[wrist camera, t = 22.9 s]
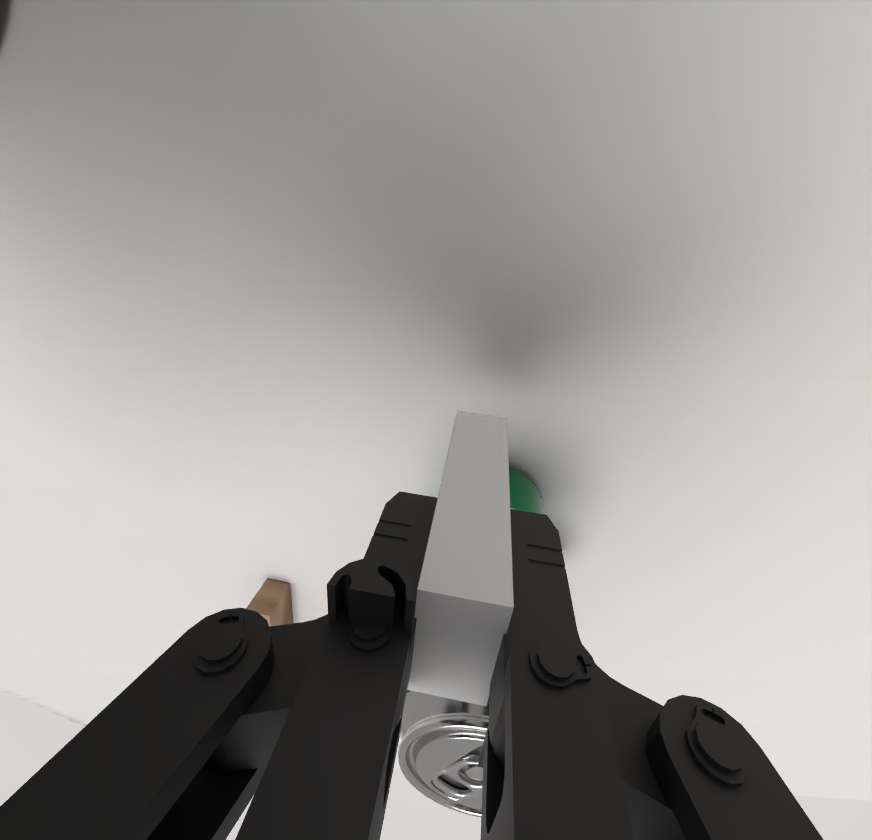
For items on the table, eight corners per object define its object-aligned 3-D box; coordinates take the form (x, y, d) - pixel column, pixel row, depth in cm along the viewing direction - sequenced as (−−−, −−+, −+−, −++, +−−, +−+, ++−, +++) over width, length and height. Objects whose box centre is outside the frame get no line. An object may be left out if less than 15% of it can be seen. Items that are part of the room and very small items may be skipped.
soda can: (563, 502, 20) (627, 800, 10) (494, 553, 22) (483, 844, 12) (491, 440, 20) (472, 688, 9) (427, 499, 22) (348, 757, 11)
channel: (267, 578, 26) (244, 610, 24) (462, 620, 25) (458, 658, 23) (276, 656, 30) (257, 689, 28) (448, 696, 28) (443, 735, 26)
